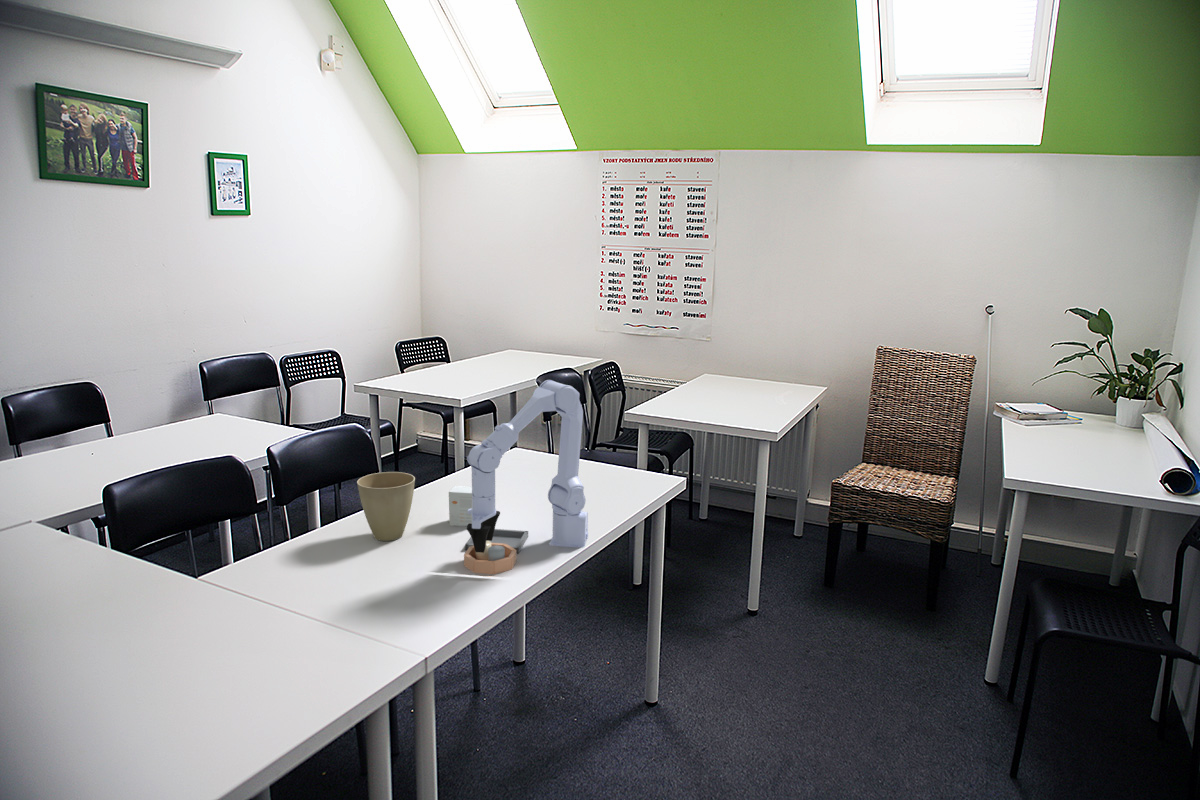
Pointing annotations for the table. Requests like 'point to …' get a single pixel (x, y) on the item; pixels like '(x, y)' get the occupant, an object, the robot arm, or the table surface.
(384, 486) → the plant pot
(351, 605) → the table surface
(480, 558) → the pebble sand
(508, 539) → the tray
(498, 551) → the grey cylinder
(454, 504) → the small box
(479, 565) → the bowl
